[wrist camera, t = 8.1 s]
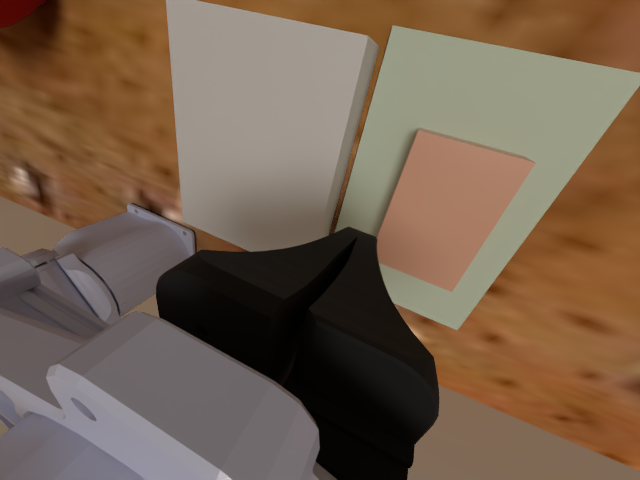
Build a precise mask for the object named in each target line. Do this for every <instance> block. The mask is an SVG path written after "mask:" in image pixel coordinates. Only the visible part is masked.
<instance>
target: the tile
mask: <svg viewBox="0 0 640 480" xmlns="http://www.w3.org/2000/svg"><path fill="white" fill-rule="evenodd" d="M534 165H535V162H534V161H532V160H530V159H529V158H527V157H525V156H522V155H519V154H515V153H511V152H508V151H504V150H500V149H497V148H493V147H489V146H486V145H482V144H478V143H475V142H471V141H467V140H464V139H460V138H456V137H453V136H449V135H445V134H442V133H438V132H434V131H431V130H427V129H423V128H420V129H419V130H418V132H417V135H416V137H415V140H414V143H413V145H412V148H411V150H410V153H409V156H408V158H407V161H406V164H405V166H404V169H403V171H402V174H401V177H400V179H399V182H398V184H397V187H396V190H395V192H394V195H393V197H392V200H391V203H390V205H389V208H388V210H387V213H386V216H385V218H384V221H383V223H382V226H381V229H380V231H379V234H378V236H377V240H378V241H377V255H378V261H379V263H381V264H383V265H386V266H388V267H391V268H393V269H396V270H398V271H401V272H403V273H406V274H408V275H411V276H413V277H416V278H418V279H420V280H423V281H425V282H428V283H430V284H433V285H435V286H438V287H440V288H443V289H445V290H448V291H450V292H452V291H453V290H454V288H455V287H456V285H457V284H458V282H459V281H460V279H461V278H462V276H463V275H464V273H465V271H466V270H467V268H468V267H469V265H470V264H471V262H472V261H473V259H474V258H475V256H476V254H477V253H478V251H479V250H480V248H481V247H482V245H483V244H484V242H485V241H486V239H487V238H488V236H489V234H490V233H491V231H492V230H493V228H494V227H495V225H496V224H497V222H498V221H499V219H500V217H501V216H502V214H503V213H504V211H505V210H506V208H507V207H508V205H509V204H510V202H511V200H512V199H513V197H514V196H515V194H516V193H517V191H518V190H519V188H520V187H521V185H522V184H523V182H524V180H525V179H526V177H527V176H528V174H529V173H530V171H531V170H532V168H533V167H534Z"/></svg>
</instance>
